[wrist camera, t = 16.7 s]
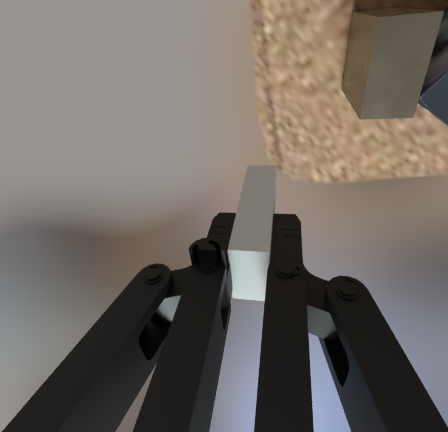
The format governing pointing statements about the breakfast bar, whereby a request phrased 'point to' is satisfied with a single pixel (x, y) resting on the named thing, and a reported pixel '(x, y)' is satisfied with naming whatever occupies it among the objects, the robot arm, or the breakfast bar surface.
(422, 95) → the small box
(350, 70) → the bookend
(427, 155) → the breakfast bar surface
